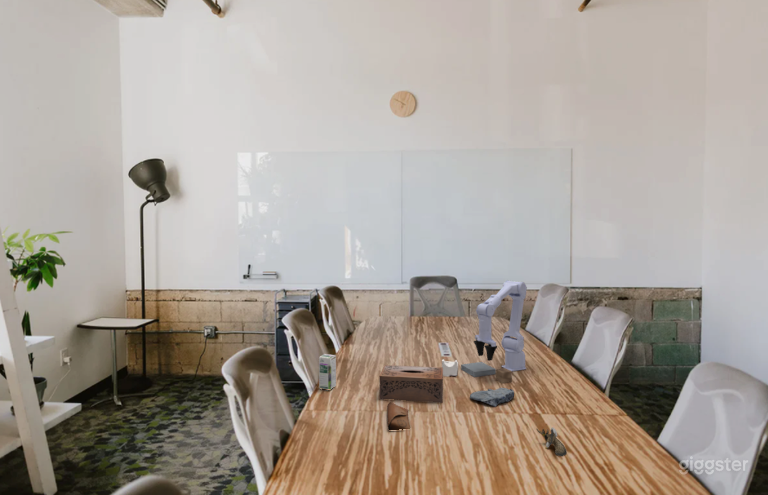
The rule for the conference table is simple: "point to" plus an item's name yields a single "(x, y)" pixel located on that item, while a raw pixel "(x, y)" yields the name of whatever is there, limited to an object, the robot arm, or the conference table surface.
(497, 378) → the walnut cube
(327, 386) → the syrup box
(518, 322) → the robot arm
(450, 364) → the bracket
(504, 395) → the fossil
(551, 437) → the grey-brown figure
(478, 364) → the base slab
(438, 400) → the tissue box cover
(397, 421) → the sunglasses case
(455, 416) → the conference table surface
